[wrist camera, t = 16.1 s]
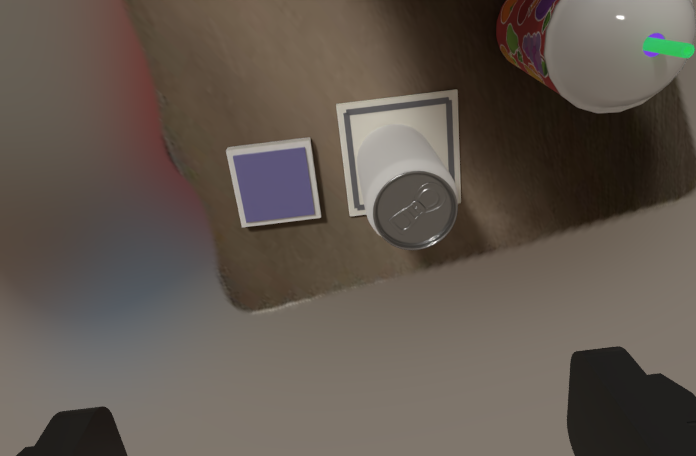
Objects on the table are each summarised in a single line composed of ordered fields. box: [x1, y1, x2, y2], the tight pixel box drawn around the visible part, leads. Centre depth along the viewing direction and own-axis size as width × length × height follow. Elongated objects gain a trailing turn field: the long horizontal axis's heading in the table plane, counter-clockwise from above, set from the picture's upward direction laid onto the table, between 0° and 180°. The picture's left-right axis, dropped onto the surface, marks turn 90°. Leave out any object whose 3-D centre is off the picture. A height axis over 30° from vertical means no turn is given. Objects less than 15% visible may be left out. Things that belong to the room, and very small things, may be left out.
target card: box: [336, 89, 461, 216], centre depth 47 cm, size 10×10×1 cm
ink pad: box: [226, 137, 321, 227], centre depth 47 cm, size 7×7×1 cm
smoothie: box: [496, 0, 696, 114], centre depth 34 cm, size 8×8×20 cm
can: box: [357, 124, 458, 250], centre depth 42 cm, size 6×6×12 cm
